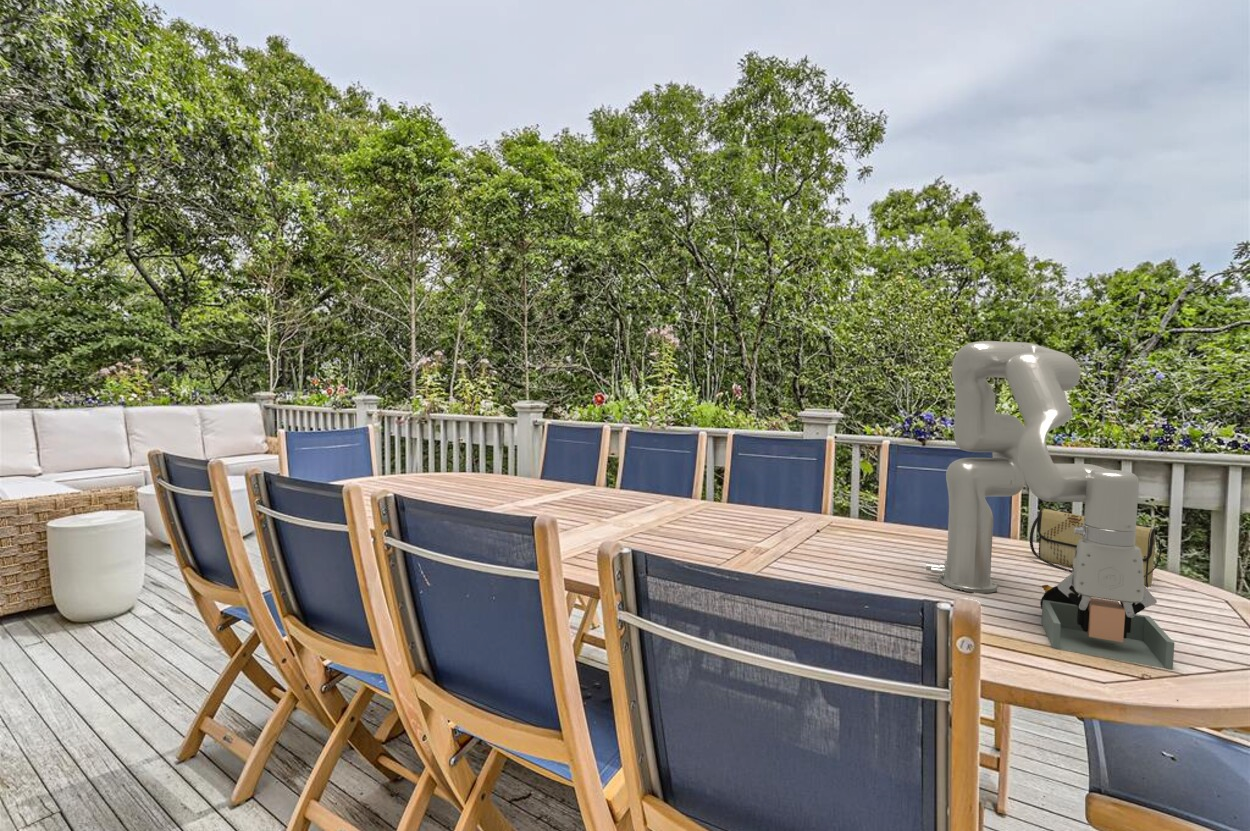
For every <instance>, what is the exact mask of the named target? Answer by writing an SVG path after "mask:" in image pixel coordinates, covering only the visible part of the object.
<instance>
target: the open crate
mask: <svg viewBox="0 0 1250 831" xmlns="http://www.w3.org/2000/svg"><path fill="white" fill-rule="evenodd" d="M1077 615H1078V606H1077V605H1074V604H1067V603H1061V602H1054V601H1047V600H1043V604H1042V609H1041V625H1042V627H1043V629H1044V631H1045V634H1046V636H1047V639H1048V641H1049V642H1050V646H1051V648H1052V649H1054V650H1062V651H1065V652H1071V653H1072V652H1073V653H1078V654H1083V655H1088V656H1094V657H1099V658H1106V659H1111V660H1114V661H1115V660H1116V661H1122V662H1125V663H1133V664H1139V665H1143V666H1147V667H1154V668H1160V669H1166V670H1171V671H1173V669H1174V667H1173V666H1174V656H1175V642H1174V641H1173V639H1171V637H1170V636H1169V635H1168V634H1167V633H1166V632H1165V631H1164V630H1163V629H1162V628H1161V627H1160V625H1158V623H1157V622H1156V621H1155V620H1154V619H1153V618H1152V617H1151V616H1150V615H1145V614H1138V613H1137V614H1135V615H1134V617H1132V618H1131V631H1130V633H1127V638H1123V642H1118V641H1112V640H1106V639H1100V638H1094V637H1089V636H1088V634H1087V632H1085V631H1083V630H1082V628H1081V625H1078V623H1077Z"/></svg>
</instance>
